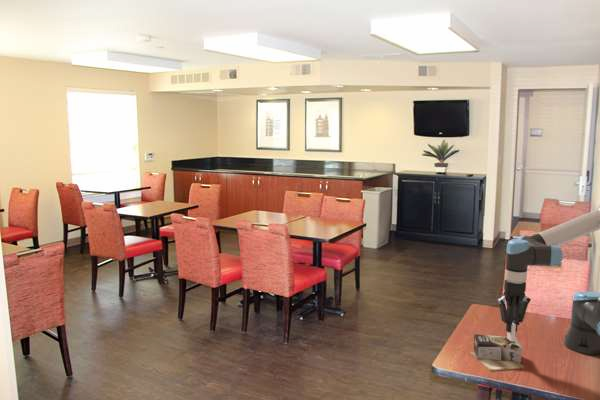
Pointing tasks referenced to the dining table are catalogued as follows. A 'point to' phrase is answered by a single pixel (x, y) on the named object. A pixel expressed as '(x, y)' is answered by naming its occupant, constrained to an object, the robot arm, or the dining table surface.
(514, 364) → the beige board
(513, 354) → the coffee box
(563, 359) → the dining table surface
